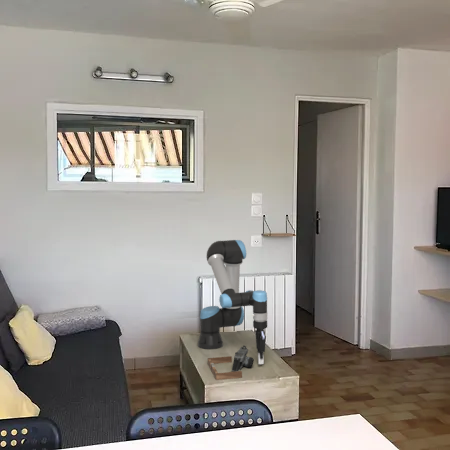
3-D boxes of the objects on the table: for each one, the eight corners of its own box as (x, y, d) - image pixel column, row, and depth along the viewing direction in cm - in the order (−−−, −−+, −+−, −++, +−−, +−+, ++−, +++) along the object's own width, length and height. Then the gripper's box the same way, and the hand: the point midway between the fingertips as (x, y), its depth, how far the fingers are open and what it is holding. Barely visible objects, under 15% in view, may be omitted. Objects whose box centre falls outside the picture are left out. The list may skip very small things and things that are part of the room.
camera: (247, 376, 267) (251, 358, 266) (230, 371, 269) (234, 353, 268) (254, 365, 284) (257, 347, 283) (238, 360, 286) (241, 343, 285)
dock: (207, 363, 284) (207, 356, 284) (231, 361, 287) (231, 354, 287) (216, 380, 259) (216, 372, 259) (242, 377, 262) (241, 370, 262)
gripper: (250, 317, 281) (250, 360, 283) (256, 323, 268) (257, 368, 270) (263, 316, 282) (264, 359, 284) (270, 322, 270) (271, 367, 271)
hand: (260, 363), depth 277 cm, fingers closed
